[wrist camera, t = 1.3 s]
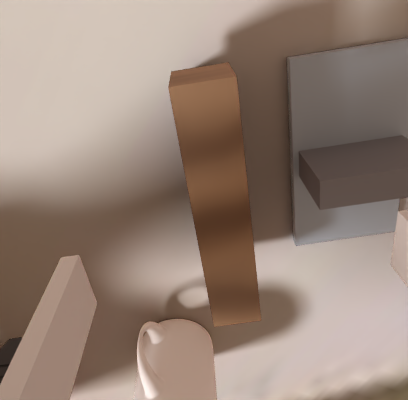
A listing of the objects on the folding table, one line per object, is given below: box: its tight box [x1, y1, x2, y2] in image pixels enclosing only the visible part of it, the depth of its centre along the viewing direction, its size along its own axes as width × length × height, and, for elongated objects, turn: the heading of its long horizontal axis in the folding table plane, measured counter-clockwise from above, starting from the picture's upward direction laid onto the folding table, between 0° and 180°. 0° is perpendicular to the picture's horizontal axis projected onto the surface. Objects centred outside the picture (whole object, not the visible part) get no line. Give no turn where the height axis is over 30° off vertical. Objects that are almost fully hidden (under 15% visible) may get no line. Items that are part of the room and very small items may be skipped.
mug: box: [133, 319, 217, 400], centre depth 40 cm, size 9×12×11 cm
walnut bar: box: [168, 62, 261, 327], centre depth 29 cm, size 20×4×5 cm, turn 8°
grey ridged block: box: [287, 38, 408, 246], centre depth 31 cm, size 10×18×7 cm, turn 8°
